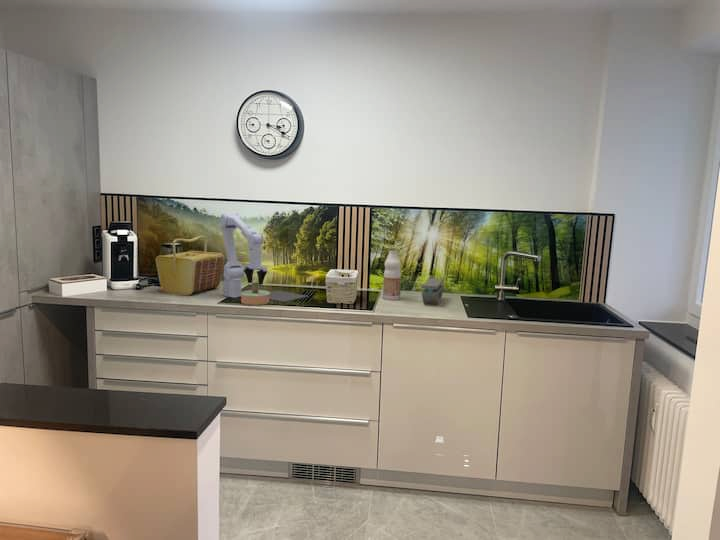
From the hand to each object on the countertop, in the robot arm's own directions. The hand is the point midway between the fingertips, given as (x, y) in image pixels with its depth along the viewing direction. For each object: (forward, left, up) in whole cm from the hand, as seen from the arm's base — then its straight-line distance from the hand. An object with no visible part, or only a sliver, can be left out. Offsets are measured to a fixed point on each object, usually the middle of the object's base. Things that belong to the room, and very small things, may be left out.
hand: (255, 283), depth 295 cm
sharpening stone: (+68, +65, -10) cm, 95 cm away
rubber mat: (0, +19, -10) cm, 21 cm away
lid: (0, 0, -5) cm, 5 cm away
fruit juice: (+47, +57, -10) cm, 74 cm away
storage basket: (+28, +36, -10) cm, 47 cm away
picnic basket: (-49, -1, -10) cm, 50 cm away
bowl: (0, 0, -10) cm, 10 cm away
